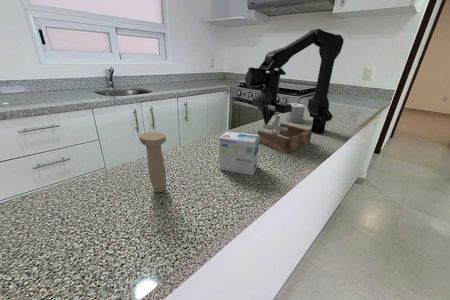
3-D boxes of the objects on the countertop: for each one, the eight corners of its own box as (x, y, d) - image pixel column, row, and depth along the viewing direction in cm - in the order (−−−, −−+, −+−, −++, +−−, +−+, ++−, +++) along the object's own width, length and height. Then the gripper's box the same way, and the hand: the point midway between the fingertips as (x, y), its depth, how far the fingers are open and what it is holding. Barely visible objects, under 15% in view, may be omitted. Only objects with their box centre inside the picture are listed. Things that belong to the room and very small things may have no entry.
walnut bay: (280, 133, 96) (281, 123, 94) (309, 142, 86) (311, 130, 84) (256, 142, 86) (257, 130, 84) (286, 153, 76) (288, 140, 74)
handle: (160, 199, 52) (152, 141, 46) (144, 190, 55) (134, 135, 49) (175, 189, 55) (169, 135, 49) (159, 182, 59) (151, 130, 53)
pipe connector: (285, 146, 85) (291, 123, 80) (260, 142, 86) (265, 119, 81) (283, 135, 94) (289, 114, 88) (260, 131, 94) (265, 110, 89)
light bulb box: (257, 166, 68) (260, 134, 63) (253, 176, 62) (255, 142, 57) (226, 161, 71) (226, 130, 66) (219, 170, 65) (218, 137, 61)
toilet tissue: (295, 116, 124) (298, 101, 121) (305, 123, 112) (307, 106, 108) (280, 116, 124) (282, 101, 120) (288, 123, 111) (290, 106, 108)
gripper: (240, 84, 85) (237, 121, 91) (278, 91, 72) (271, 134, 79) (258, 83, 92) (254, 118, 98) (296, 89, 79) (289, 129, 85)
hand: (266, 124), depth 90 cm, fingers closed
